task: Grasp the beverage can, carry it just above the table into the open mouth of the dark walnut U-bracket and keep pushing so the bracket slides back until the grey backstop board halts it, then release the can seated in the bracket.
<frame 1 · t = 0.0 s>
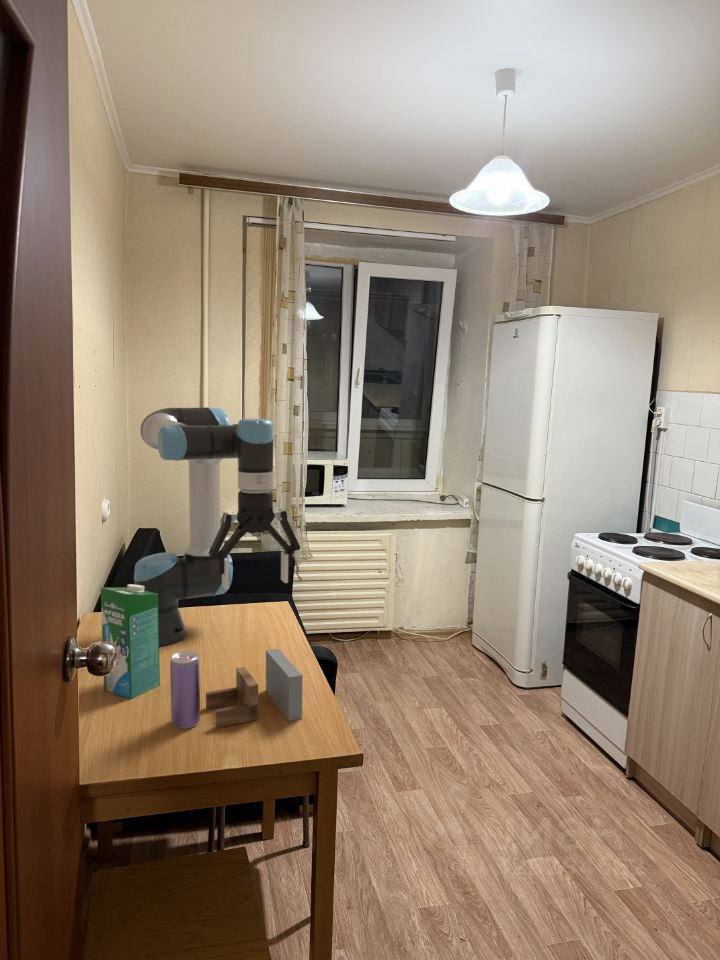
hand: (255, 584, 152), 28 cm above the table, fingers open, 13 cm apart
beverage can: (185, 723, 147), on the table
milk carton: (132, 688, 163), on the table
bracket: (231, 696, 151), point 4 cm above the table, slide at 0.0 cm
backstop: (283, 703, 156), on the table
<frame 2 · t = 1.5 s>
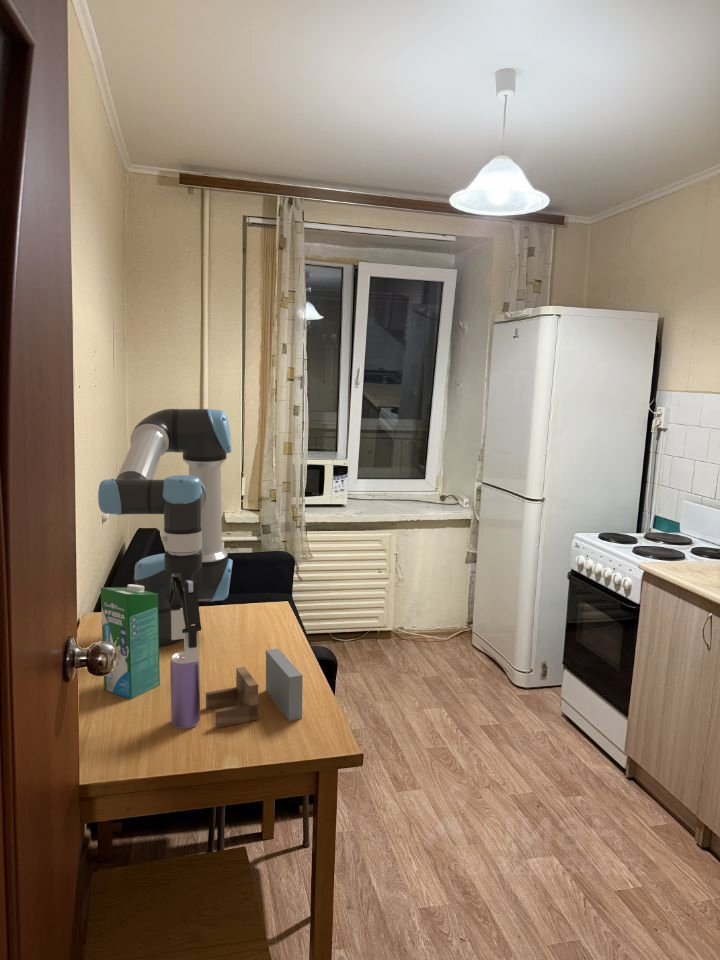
hand: (184, 649, 144), 17 cm above the table, fingers open, 13 cm apart
nothing on the table moved.
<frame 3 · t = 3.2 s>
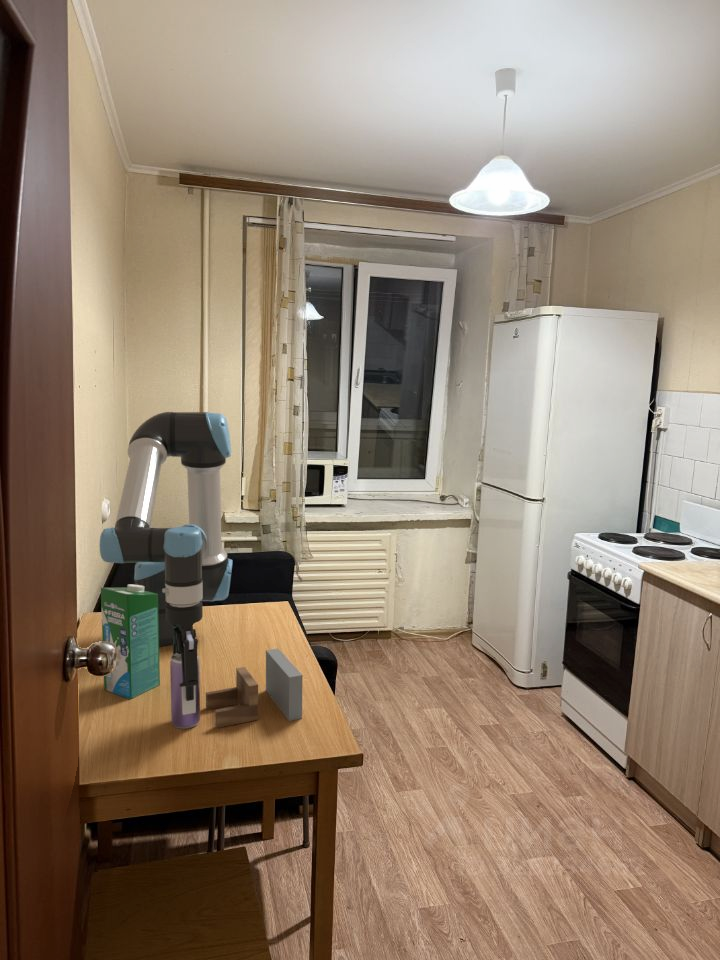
hand: (185, 705, 146), 4 cm above the table, fingers closed on beverage can, 6 cm apart
beverage can: (185, 723, 147), on the table, touching gripper
everything else where it was.
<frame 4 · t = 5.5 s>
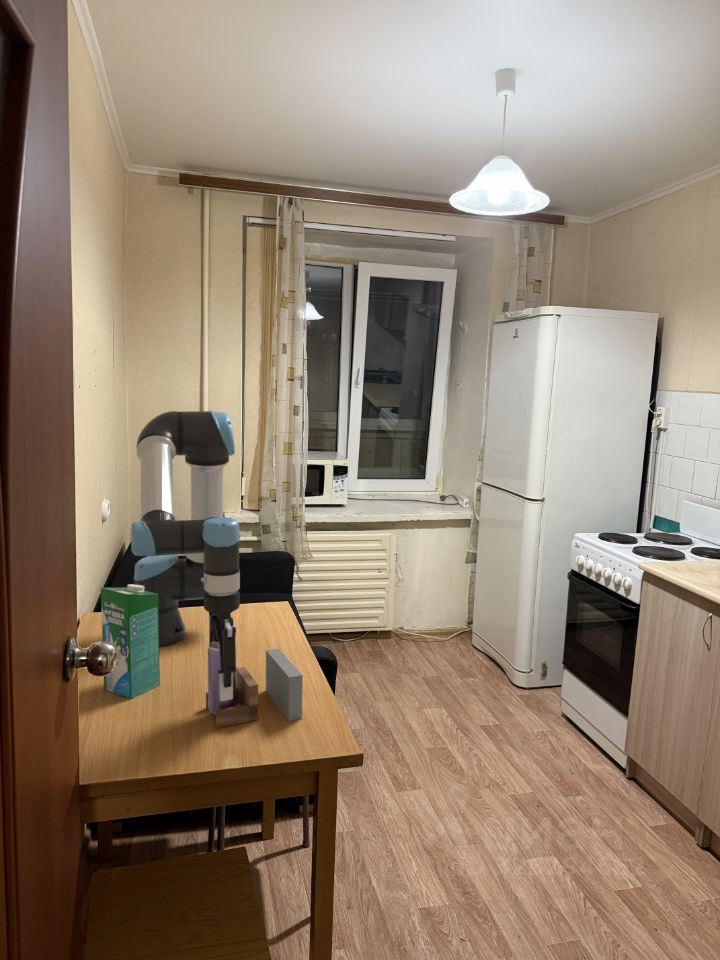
hand: (222, 692, 150), 5 cm above the table, fingers closed on beverage can, 6 cm apart
beverage can: (222, 710, 150), point 1 cm above the table, touching gripper
everything else where it was.
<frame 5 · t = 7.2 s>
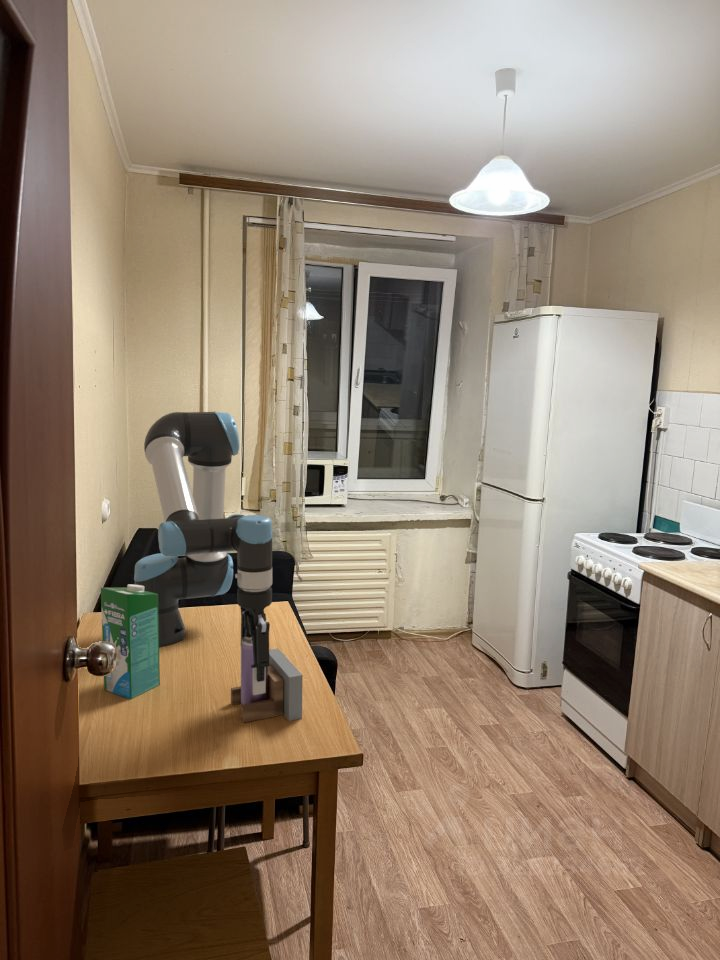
hand: (254, 686, 153), 5 cm above the table, fingers closed on beverage can, 6 cm apart
beverage can: (254, 704, 153), point 1 cm above the table, touching gripper
bracket: (256, 691, 153), point 4 cm above the table, slide at 5.7 cm
everything else where it was.
when the fingers open (5 cm above the table, at t = 8.2 s): beverage can drops 1 cm, on the table.
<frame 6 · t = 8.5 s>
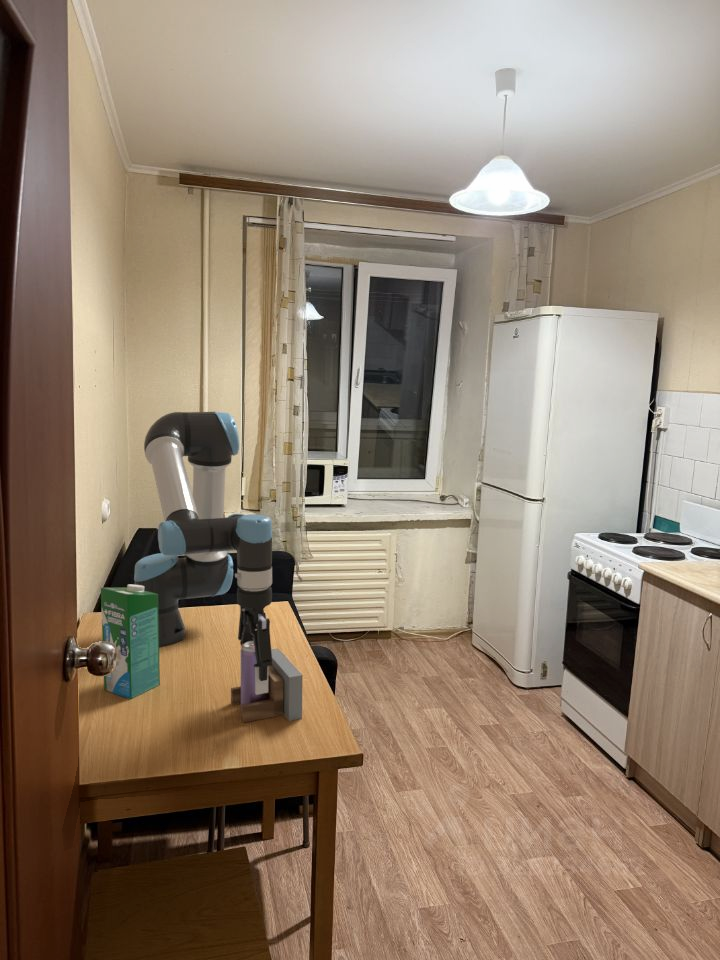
hand: (254, 683, 153), 6 cm above the table, fingers open, 10 cm apart
beverage can: (254, 710, 154), on the table
everything else where it was.
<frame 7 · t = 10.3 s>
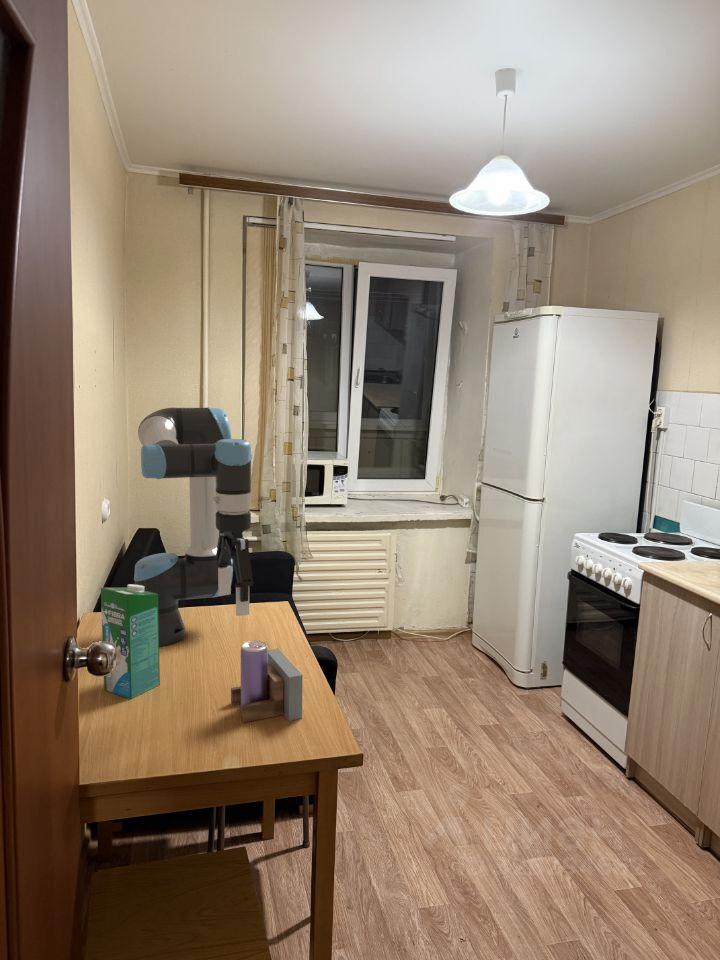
hand: (233, 604, 152), 24 cm above the table, fingers open, 13 cm apart
nothing on the table moved.
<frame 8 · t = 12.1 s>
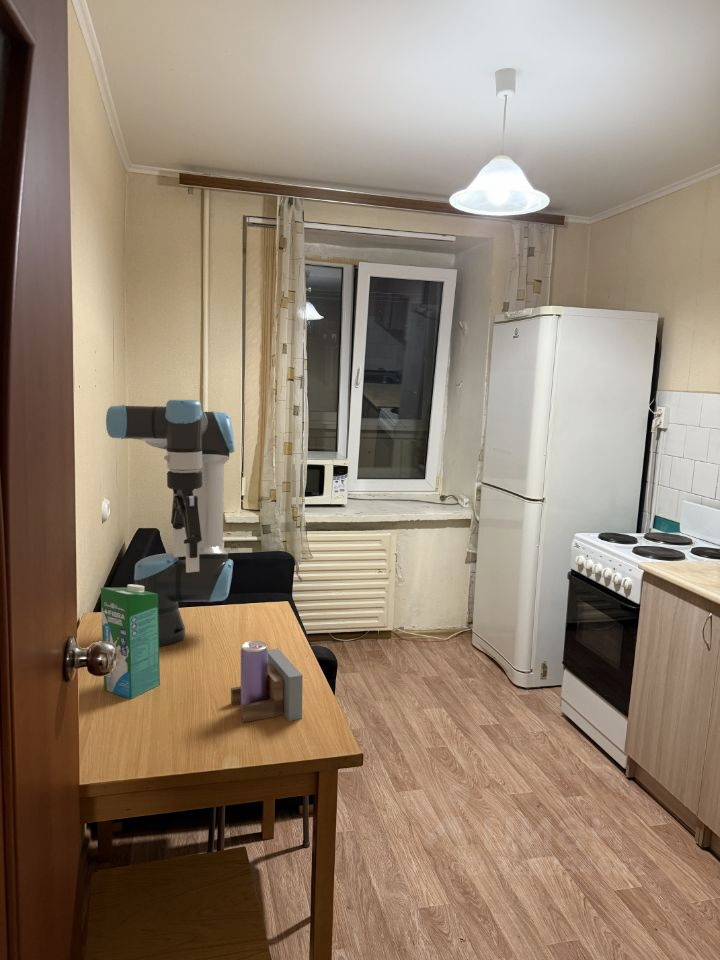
hand: (186, 563, 154), 32 cm above the table, fingers open, 13 cm apart
nothing on the table moved.
at the end: beverage can 0.3 cm from the target spot, on the table; bracket slide at 5.7 cm; beverage can tilted 0° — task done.
